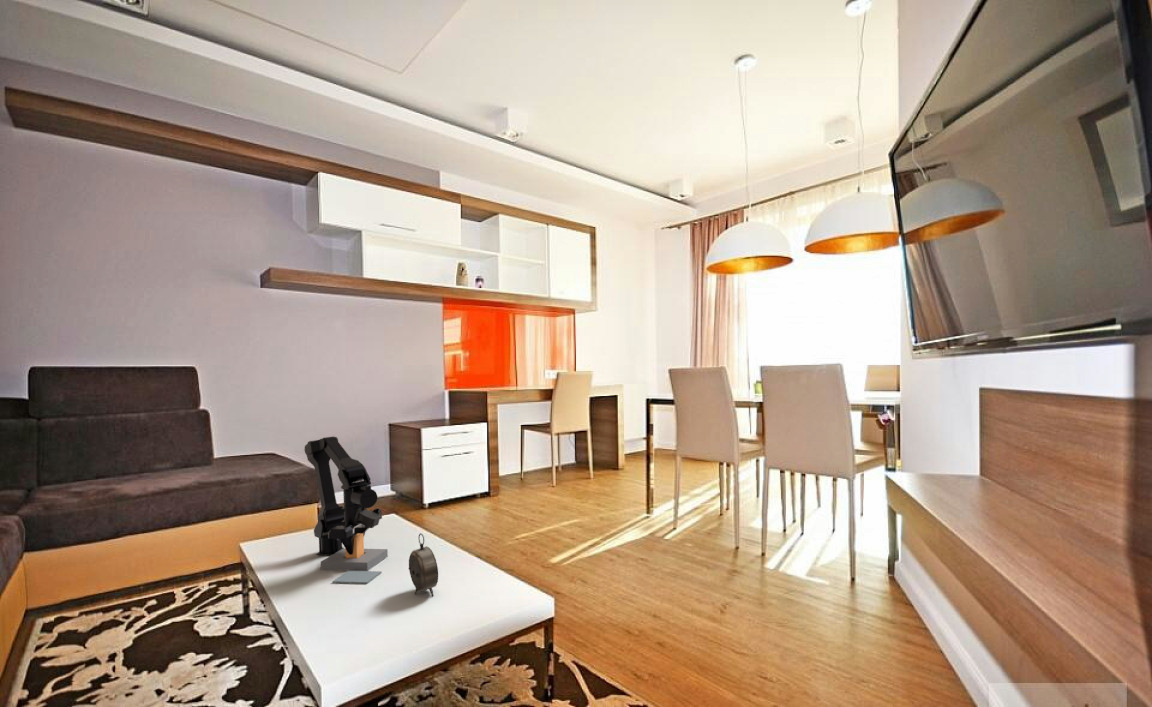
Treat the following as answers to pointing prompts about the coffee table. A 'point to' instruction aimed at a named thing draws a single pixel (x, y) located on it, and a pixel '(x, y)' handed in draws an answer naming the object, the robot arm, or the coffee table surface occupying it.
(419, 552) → the alarm clock
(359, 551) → the orange block
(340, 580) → the mat
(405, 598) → the coffee table surface
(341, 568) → the holder
